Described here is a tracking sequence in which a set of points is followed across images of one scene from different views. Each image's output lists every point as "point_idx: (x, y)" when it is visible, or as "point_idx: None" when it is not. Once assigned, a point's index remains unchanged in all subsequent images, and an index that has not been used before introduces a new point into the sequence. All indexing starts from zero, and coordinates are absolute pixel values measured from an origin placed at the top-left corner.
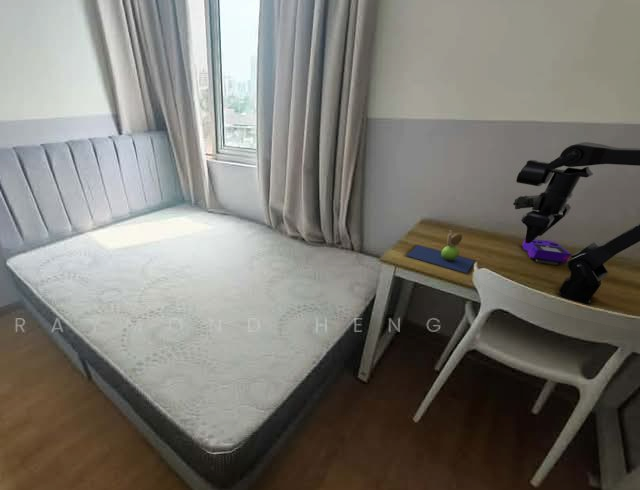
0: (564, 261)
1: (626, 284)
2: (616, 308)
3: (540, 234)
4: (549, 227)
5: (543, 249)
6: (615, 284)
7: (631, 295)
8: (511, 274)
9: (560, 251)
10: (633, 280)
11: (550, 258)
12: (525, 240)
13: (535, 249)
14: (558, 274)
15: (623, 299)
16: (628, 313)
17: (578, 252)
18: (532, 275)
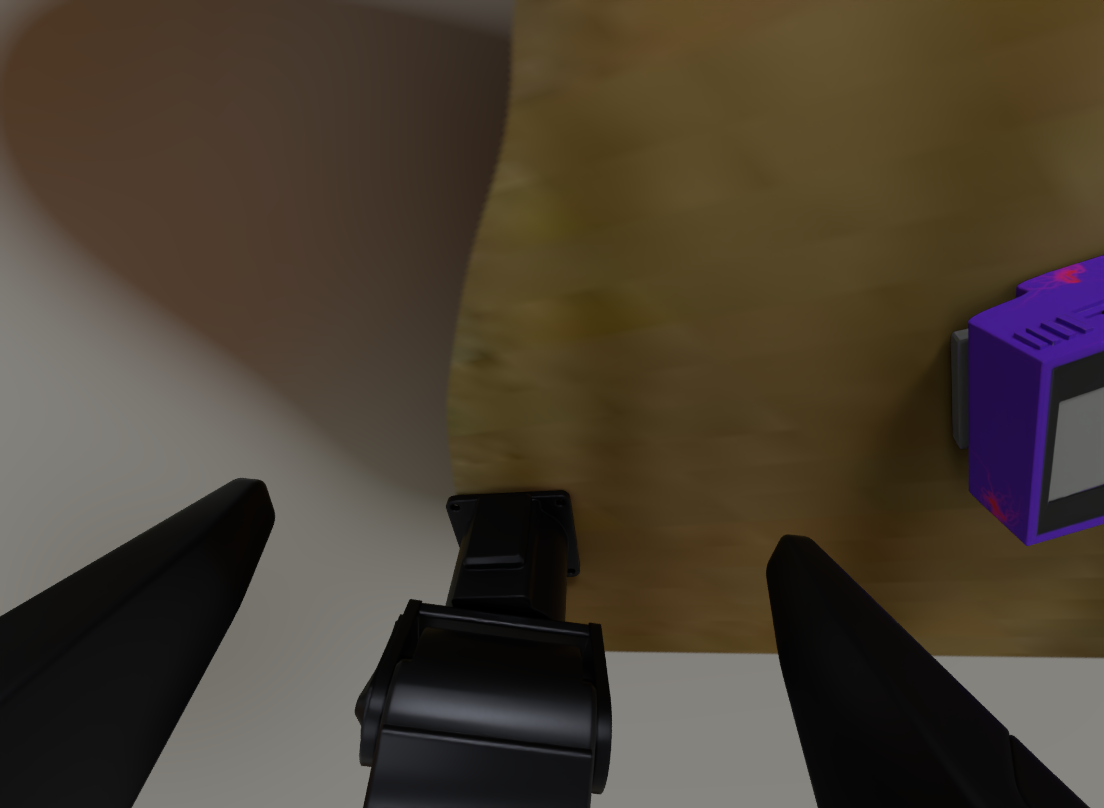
0: (972, 486)
1: None
2: None
3: (775, 588)
4: (827, 805)
5: (1092, 392)
6: None
7: (714, 649)
8: (534, 244)
9: (1091, 488)
10: None
11: (977, 424)
12: (202, 498)
13: (1081, 334)
14: (775, 459)
15: (646, 635)
16: None
17: (477, 768)
18: (637, 357)
